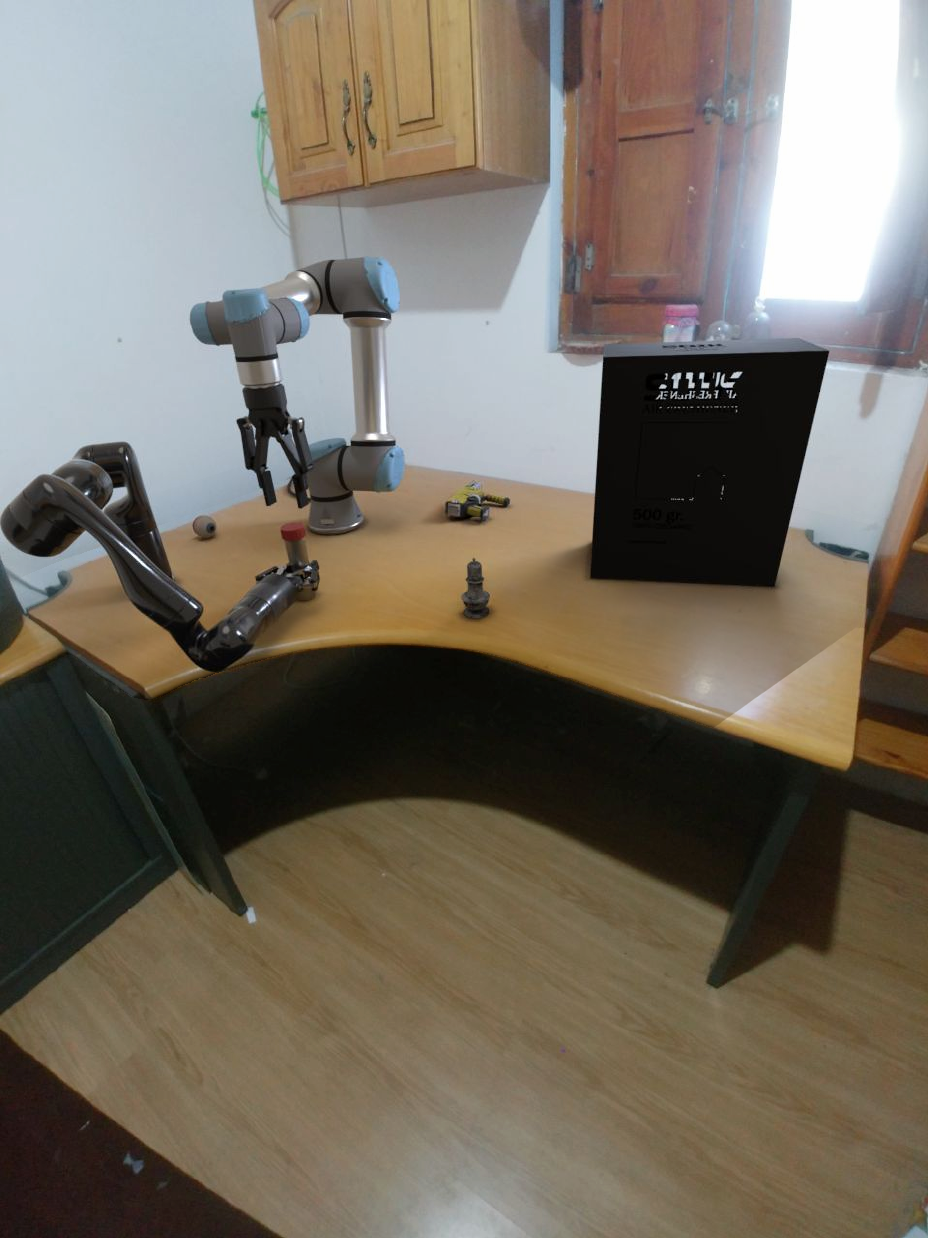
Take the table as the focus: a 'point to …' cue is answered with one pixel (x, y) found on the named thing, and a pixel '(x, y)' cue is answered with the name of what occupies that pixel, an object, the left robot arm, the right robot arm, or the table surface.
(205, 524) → the eyeball
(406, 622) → the table surface
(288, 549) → the bottle
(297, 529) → the lid
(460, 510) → the toy gun
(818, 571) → the table surface
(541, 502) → the table surface
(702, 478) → the cardboard box
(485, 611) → the dark grey chess piece
